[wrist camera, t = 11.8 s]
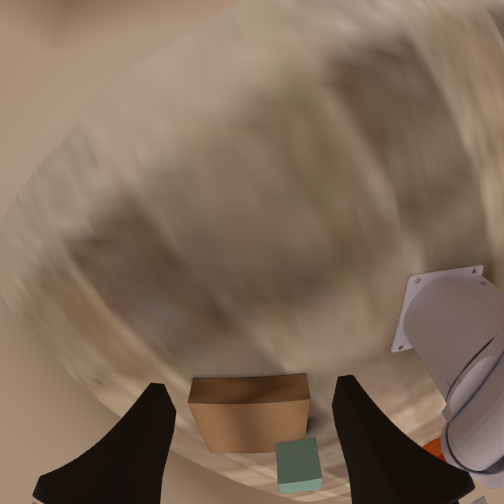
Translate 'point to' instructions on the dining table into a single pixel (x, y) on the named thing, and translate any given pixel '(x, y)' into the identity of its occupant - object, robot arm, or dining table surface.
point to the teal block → (298, 466)
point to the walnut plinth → (250, 412)
